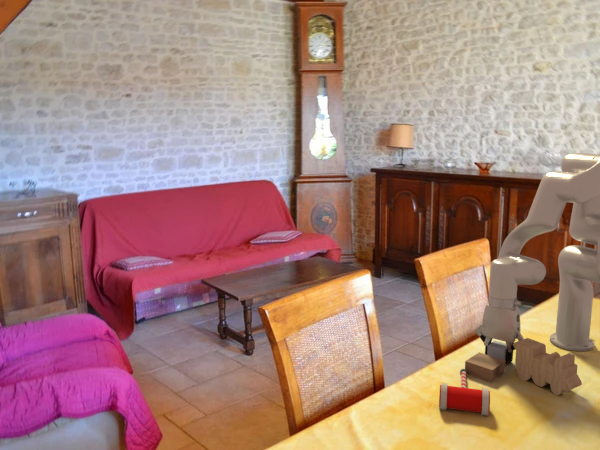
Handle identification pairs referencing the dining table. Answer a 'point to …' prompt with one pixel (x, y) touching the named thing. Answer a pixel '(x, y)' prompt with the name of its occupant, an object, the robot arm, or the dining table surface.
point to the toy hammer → (464, 397)
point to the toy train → (545, 366)
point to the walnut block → (485, 367)
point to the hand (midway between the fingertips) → (498, 359)
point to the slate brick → (497, 350)
